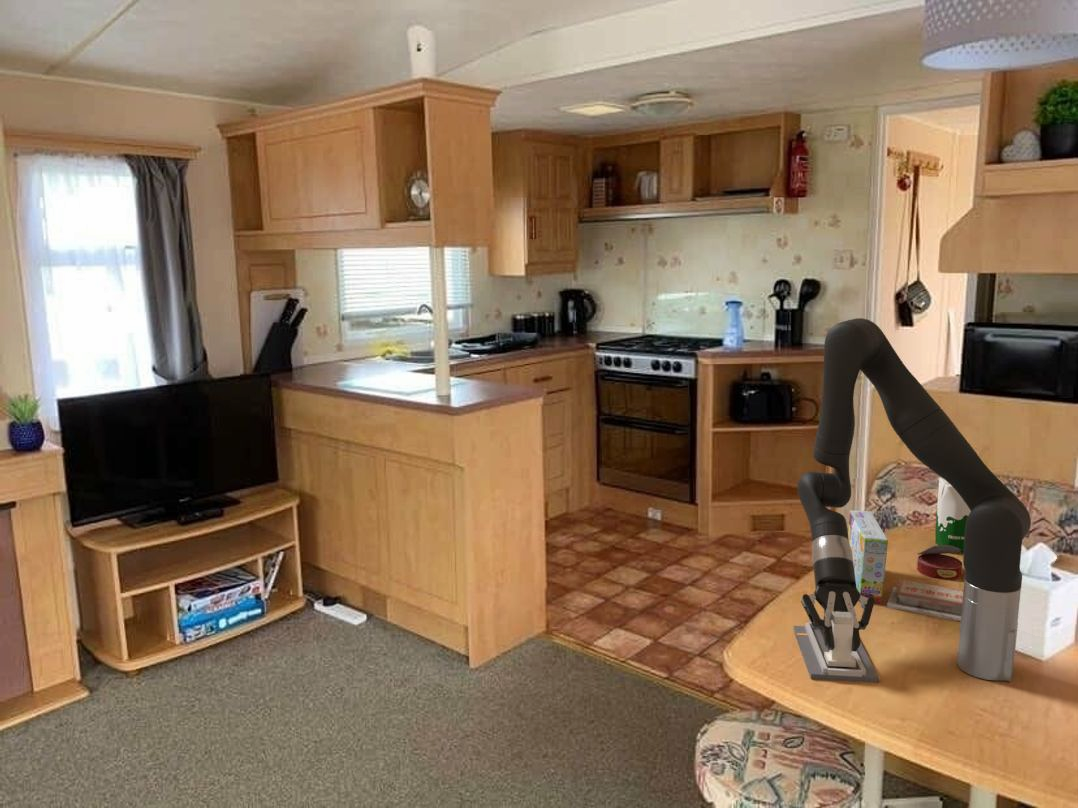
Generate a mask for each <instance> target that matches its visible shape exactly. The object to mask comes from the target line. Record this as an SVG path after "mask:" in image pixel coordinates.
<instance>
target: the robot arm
mask: <svg viewBox="0 0 1078 808" xmlns="http://www.w3.org/2000/svg"><path fill="white" fill-rule="evenodd" d="M860 371H861V373H862V374H863V375H864V376H865V377H866V378H867V379H868V380H869V382H870V383H871V384H872V386H873V387H874V388H875V390H876V391H877V393H878V395H879V397H880V400H881V403H882V406H883V408H884V411H885V413H886V418H887V419H888V422H889V424H890V425H891V428H892V429H893V431H894V432H895V433H896V435H897V436H898V438H899V439H900V440H901V441H902V443H903V445H905V447H906V448H907V449H908V450H909V452H910V453H911V454H912V455H913V456H914V457H915V458H916V459H917V460H918V461H919V462H921V463H922V464H923V465H924V466H926V467H927V468H928V469H930V470H931V471H932V472H934V473H935V474H936V475H938V476H939V477H940V478H943V479H945V480H946V481H947V482H948V483H949V484H950V485H951V486H952V487H953V488H954V489H955V490H956V491H957V492H958V494H959V495H960V496H961V498H962V499H963V500H964V502H965V503H966V504H967V506H968V507H969V509H970V510H971V512H970V514H969V515H968V518H967V521H966V526H965V537H964V553H963V557H962V560H963V561H962V565H963V568H964V581H963V590H962V591H963V602H962V613H961V621H960V627H959V637H958V649H957V659H956V660H957V666H958V667H959V669H960V670H961V671H962V672H964V673H966V674H968V675H970V676H972V677H975V678H979V679H982V680H986V681H987V680H988V681H997V682H998V681H1006V682H1012V678H1013V672H1014V665H1015V656H1016V648H1017V647H1016V646H1017V639H1018V638H1017V636H1018V628H1019V627H1018V625H1019V614H1020V613H1019V612H1020V603H1021V591H1022V585H1023V583H1022V582H1023V573H1022V571H1021V558H1022V557H1021V556H1022V547H1023V540H1024V539H1025V537H1026V536H1027V535H1028V534H1029V531H1030V529H1031V525H1032V524H1031V523H1032V520H1031V516H1030V512H1029V510H1028V509H1027V507H1026V505H1025V504H1024V503H1023V502H1022V501H1021V499H1019V498H1018V497H1017V495H1016V494H1014V493H1013V492H1012V491H1011V490H1010V489H1009V488H1008V487H1007V486H1006V485H1005V484H1004V483H1003V482H1002V481H1001V480H1000V479H999V478H998V477H997V476H996V474H994V473H993V472H992V470H991V469H989V467H988V466H987V465H986V463H984V461H983V460H982V459H981V457H980V456H979V454H977V452H976V451H975V449H974V448H973V446H972V445H971V444H970V443H969V441H968V440H967V439H966V437H964V435H963V434H962V433H961V431H960V430H959V428H958V427H957V426H956V425H955V423H954V422H953V421H952V420H951V418H950V417H949V416H948V415H947V413H946V412H945V411H944V410H943V409H942V408H941V406H940V405H939V404H938V403H937V401H936V400H934V398H933V397H932V396H931V395H930V394H929V392H928V391H927V389H926V388H925V387H924V386H923V385H922V384H921V382H920V381H918V379H917V378H916V377H915V376H914V374H913V373H911V371H910V370H909V369H908V368H907V367H906V365H905V364H904V362H903V361H902V359H901V358H900V356H899V355H898V353H897V352H896V350H895V349H894V347H893V346H892V344H891V343H890V341H889V340H888V338H887V336H886V335H885V333H884V332H883V330H882V329H881V328H880V326H878V325H877V324H876V323H875V322H873V321H871V320H870V319H867V318H862V317H861V318H859V317H858V318H853V319H851V318H850V319H848V320H843V321H841V322H838V323H836V324H835V325H833V326H832V327H831V328H830V329H829V330H828V331H827V333H826V335H825V339H824V346H823V379H822V380H823V381H822V383H823V384H822V399H821V406H820V407H821V408H820V415H819V421H818V425H817V426H818V427H817V430H816V431H817V432H816V436H815V441H814V442H815V443H814V446H813V454H812V455H813V459H814V460H815V461H816V462H817V463H819V464H822V465H824V466H828V467H830V468H833V473H830V472H829V473H827V472H820V471H819V472H818V471H817V472H816V471H807V472H804V473H803V474H802V475H800V478H799V479H798V481H797V488H796V489H797V495H798V499H799V501H800V503H801V506H802V507H803V511H805V514H806V517H807V520H808V524H809V525H810V531H811V532H810V533H811V543H812V545H811V546H812V548H811V549H812V550H811V556H812V559H811V563H812V565H813V576H814V585H815V589H814V592H813V593H812V594H807V593H804V594H803V595H802V597H801V601H800V603H801V604H802V606H803V609H804V611H805V613H806V614H807V617H808V618H809V622H811V623H812V625H813V626H814V627H818V628H821V629H822V630H823V633H824V643H825V646H826V647H828V648H829V650H833V649H834V647H835V645H834V636H833V629H832V628H831V622H832V619H831V612H832V611H835V612H851V613H852V615H853V617H854V623H853V636H852V651H855V652H856V651H857V649H858V648H859V647H860V644H862V642H861V637H860V631H861V630H864V631H865V630H866V628H867V626H868V625H869V622H870V619H871V616H872V613H873V609H874V605H875V603H876V602H875V599H874V598H873V597H869V598H867V597H864V596H861V595H860V593H859V591H858V590H857V587H856V580H855V572H854V565H853V557H852V551H851V547H850V544H849V538H848V525H847V520H846V518H845V516H844V515H843V514H841V513H840V512H838V511H835V510H831V509H829V508H834V509H835V508H837V509H838V508H839V509H840V508H843V507H845V506H846V505H847V504H848V503H849V501H850V500H851V498H852V483H851V477H850V455H851V451H852V447H853V446H852V444H853V441H854V436H855V427H856V426H855V425H856V423H855V422H856V420H855V419H856V418H855V417H856V416H855V409H854V408H855V407H854V406H855V405H854V396H855V395H854V394H855V389H856V388H855V387H856V383H857V379H858V376H859V374H860ZM815 600H816V601H815ZM816 602H817V603H818V604H819V605H820V606H821V608H823V610H824V611H823V616H822V617H823V619H822V618H821V616H820V615H819V613H818V611H817V609H816V607H815V604H816ZM859 602H860V608H862V609H863V611H862V614H861V618H860V620H859V621H858V618H857V614H856V610H855V606H856V605H857V603H859ZM860 642H861V643H860Z"/></svg>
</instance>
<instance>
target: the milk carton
mask: <svg viewBox="0 0 1078 808" xmlns="http://www.w3.org/2000/svg"><path fill="white" fill-rule="evenodd" d="M937 493H938V494H937V502H936V503H937V505H936V506H937V507H936V517H935V518H936V519H935V534H934V535H935V537H934V538H935V539H934V540H935V544H936V546H942V545H949V546H953V547H957V548H959V549H960V550H961V551H960V552H957V553H956V554H964V537H965V526H966V521H967V518H968V515H969V514H970V512H971V510H970V509H969V507H968V506H967V504H966V503H965V502H964V500H963V499H962V498H961V496H960V495H959V494H958V492H957V491H956V490H955V489H954V488H953V487H952V486H951V485H950V484H949V483H948V482H947V481H946V480H945V479H943V478H942V477H938V491H937Z"/></svg>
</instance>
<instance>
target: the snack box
mask: <svg viewBox="0 0 1078 808" xmlns="http://www.w3.org/2000/svg"><path fill="white" fill-rule="evenodd" d="M848 515H849V516H848V517H849V518H848V528H847V530H848V538H849V544H850V547H851V551H852V557H853V565H854V572H855V580H856V587H857V590H858V591H859V593H860V595H861V596H864V597H867V598H869V597H873V598H874V599H875V602H874V603H883V595H884V585H885V584H884V583H885V577H886V566H887V565H886V564H887V554H888V544H889V540H888V538H887V536H886V535H885V533H884V532H883V529H882V528H881V526H880V524H879V523H878V521H877V520H876V517H875V516H874V514H873V513H872V511H870V510H869V511H867V510H851V509H850V510H849V514H848Z"/></svg>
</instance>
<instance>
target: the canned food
mask: <svg viewBox="0 0 1078 808" xmlns="http://www.w3.org/2000/svg"><path fill="white" fill-rule="evenodd" d="M960 551H961V550H960V549H959V548H957V547H953V546H949V545H942V546H938V545H933V546H931V547H928V548H927V549H925V550H923V551H921V552H918V553H917V555H919V556H917V565H916V571H917V572H918V573H920V574H921V575H923V576H925V577H929V578H932V579H937V580H943V581H944V580H945V581H946V580H948V581H950V580H951V581H952V580H958V579H960V578H961V577H962V571H963V561H961V560H960V559H958V558H957V557H954V556H950V555H947V554H954V553H956V554H958V553H957V552H960ZM959 577H960V578H959ZM957 578H958V579H957Z"/></svg>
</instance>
